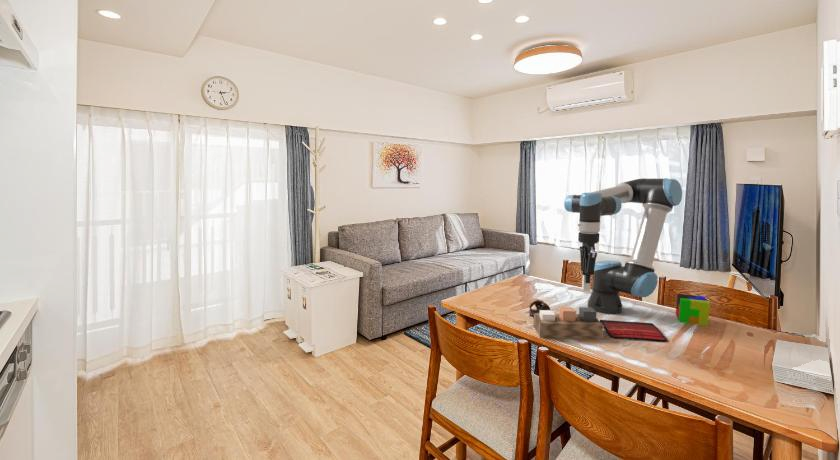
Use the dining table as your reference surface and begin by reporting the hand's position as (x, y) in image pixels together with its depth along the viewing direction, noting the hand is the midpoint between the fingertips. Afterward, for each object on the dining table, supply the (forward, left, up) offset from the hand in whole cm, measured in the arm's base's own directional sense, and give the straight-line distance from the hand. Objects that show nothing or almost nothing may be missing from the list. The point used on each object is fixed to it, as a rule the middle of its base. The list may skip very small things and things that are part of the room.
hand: (586, 290), depth 153 cm
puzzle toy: (-52, -17, -18) cm, 58 cm away
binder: (-20, -2, -19) cm, 27 cm away
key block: (+7, 0, -18) cm, 19 cm away
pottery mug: (+13, -19, -18) cm, 29 cm away
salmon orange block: (+7, 0, -14) cm, 16 cm away
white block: (+15, 0, -16) cm, 22 cm away
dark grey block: (-1, 0, -14) cm, 14 cm away
